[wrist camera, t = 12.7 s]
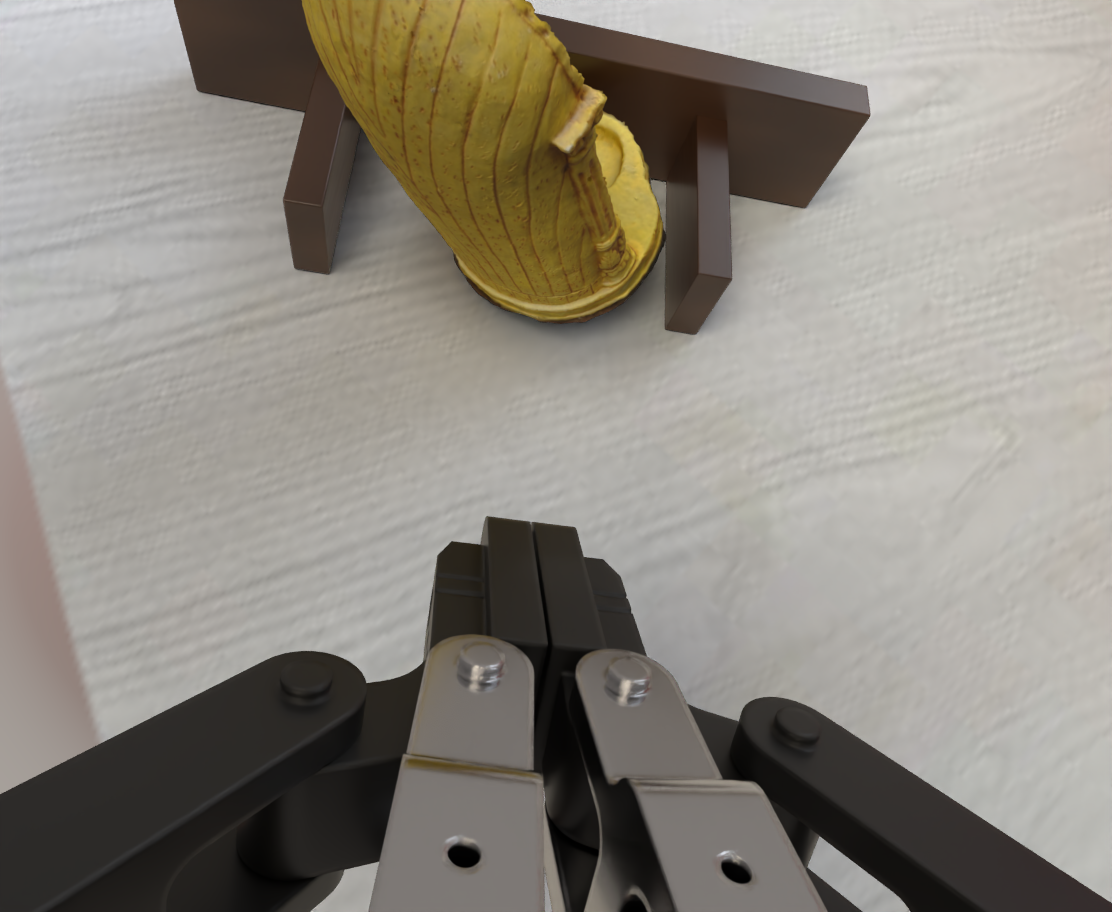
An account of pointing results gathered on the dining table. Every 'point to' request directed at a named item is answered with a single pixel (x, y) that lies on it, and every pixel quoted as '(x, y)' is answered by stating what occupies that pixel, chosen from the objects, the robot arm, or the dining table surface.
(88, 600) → the dining table surface
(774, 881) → the robot arm
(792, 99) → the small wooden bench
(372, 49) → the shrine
